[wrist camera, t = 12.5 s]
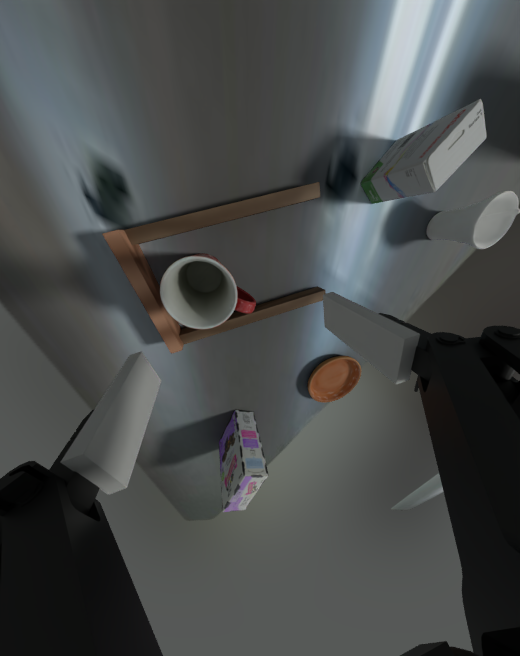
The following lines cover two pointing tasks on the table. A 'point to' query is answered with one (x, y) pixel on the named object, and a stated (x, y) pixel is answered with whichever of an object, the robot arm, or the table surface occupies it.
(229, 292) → the mug
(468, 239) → the cup
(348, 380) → the saucer
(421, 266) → the table surface
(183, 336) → the guide channel
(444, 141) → the ink box
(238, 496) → the candy box
